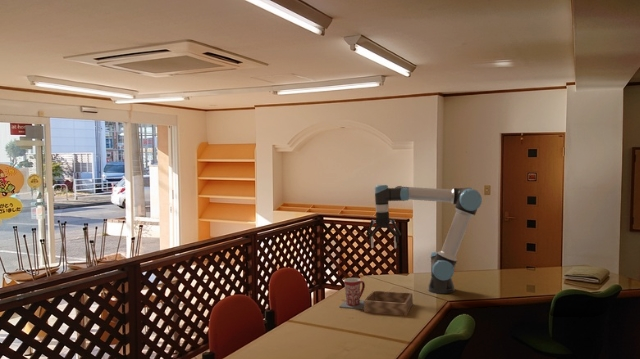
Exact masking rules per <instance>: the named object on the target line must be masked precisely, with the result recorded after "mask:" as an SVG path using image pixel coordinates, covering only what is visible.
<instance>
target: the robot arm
mask: <svg viewBox="0 0 640 359" xmlns="http://www.w3.org/2000/svg"><path fill="white" fill-rule="evenodd" d="M388 186H389V185H387V184H377V185H375V187H374V199H375V200H374V201H375V219H370V224H369V227H368V229H367V231H366V233H365V236H368V242H369V243H370V244H371V245H370V248H371V249H373V248H374V247H375V245H374V235H373V234H375V232H376V231H377V230H378V229H379V228H381V229H382V228H384V229H385V228H387V229H388V230H389V231H390V232H391V233H392V235H393V236H394V237H393V243H394V244H393V245H394V249H397V243H398V242H399V237H400V236H401V235H402V233H401V231H400V230H399V228H398V226H397V224H396V220H395V219H390V212H389V211H390V206H389V202H405V201H409V200H411V201H412V200H413V201H424V202H425V201H428V202H437V203H438V202H439V203H451V204H452V205H454V206H455V207H454V209H455V214H454V216H453V218H452V222H451V225H450V227H449V229H448V232H447V235H446V237H445V240H444V242H443V245H442V247H441V250H439V251H433V252H431V253H430V272H431V273H430V280H429V284H428V291H429V292H431V293H435V294H442V295H443V294H444V295H445V294H452V293H454V292H455V290H456V289H455V284H454V282H453V280H452V278H453V276H454V274H455V267H456V264H457V262H458V258H457V254H458V252H459V251H460V247H461V244H462V241H463V239H464V237H465V234H466V231H467V229H468V226H469V223H470V222H471V219H472V217H474V216H476V214H477V212H478V209H479V208H480V207H481V205H482V202H483V200H482V196H481V194H480V192H479V191H478V190H476V189H475V188H472V187H458V188H457V187H453V188H452V189H450V188H431V187H430V188H429V187H418V186H417V187H416V186H415V187H413V186H402V185H397V186H395V187H388ZM374 224H376V226H375V227H374V228H373V230H372V227H373V226H374ZM390 224H391V225H392V226H391V225H390ZM393 228H394V229H393ZM371 230H372V231H371Z"/></svg>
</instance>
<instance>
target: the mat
mask: <svg viewBox="0 0 640 359" xmlns="http://www.w3.org/2000/svg"><path fill="white" fill-rule="evenodd" d="M364 300H365V299H364ZM364 300H363V299H360V304H359V305H356V306H349V305H347V303H346V300H345V301H344V302H342V303H341V304H340V305H339V308H341V309H342V308H343V309H352V310H353V309H355V310H364Z"/></svg>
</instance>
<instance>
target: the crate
mask: <svg viewBox="0 0 640 359" xmlns="http://www.w3.org/2000/svg"><path fill="white" fill-rule="evenodd" d="M413 298H414V297H413V292H401V291H400V292H399V291H385V290H384V291H382V290H372V291H371V292H370V293H369V295H367V297H366V298H365V299H364V309H363V312H364V313H371V314H381V315H382V314H384V315H392V316H393V315H396V316H405V317H406V316H407V315H408V313H409V311H410V309H411V308H412V306H413V303H414V299H413Z"/></svg>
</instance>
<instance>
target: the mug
mask: <svg viewBox="0 0 640 359" xmlns="http://www.w3.org/2000/svg"><path fill="white" fill-rule="evenodd" d="M343 282H344V290H345V301H346V303H347V305H349V306H356V305H359V304H360V300H361V297H362V296H363V293H364V291H365V286H366V285H365V284H366V283H365V281H363V280H361V278H359V277H348V278H345V279H343ZM361 284H362V286H361Z"/></svg>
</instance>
